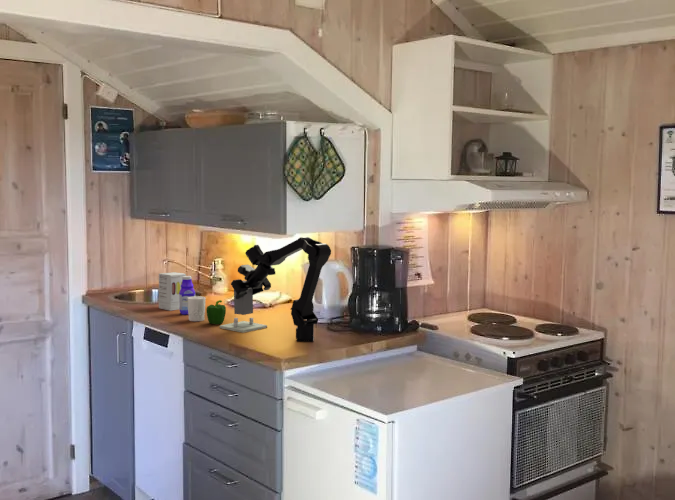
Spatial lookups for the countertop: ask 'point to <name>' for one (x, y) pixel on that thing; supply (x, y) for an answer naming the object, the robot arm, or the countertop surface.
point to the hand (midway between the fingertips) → (241, 297)
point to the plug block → (244, 303)
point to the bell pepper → (216, 313)
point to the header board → (243, 326)
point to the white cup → (196, 308)
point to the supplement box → (169, 290)
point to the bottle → (185, 294)
